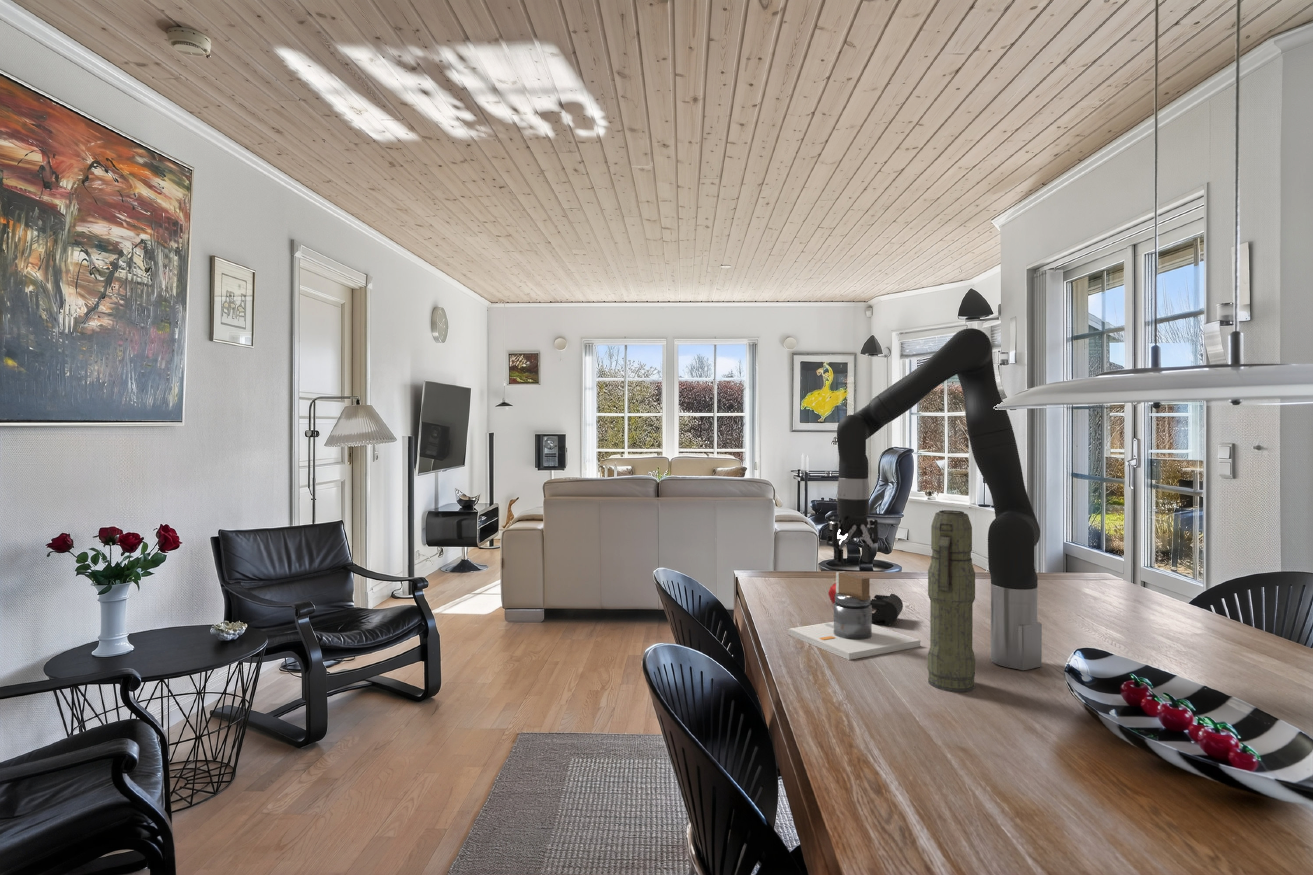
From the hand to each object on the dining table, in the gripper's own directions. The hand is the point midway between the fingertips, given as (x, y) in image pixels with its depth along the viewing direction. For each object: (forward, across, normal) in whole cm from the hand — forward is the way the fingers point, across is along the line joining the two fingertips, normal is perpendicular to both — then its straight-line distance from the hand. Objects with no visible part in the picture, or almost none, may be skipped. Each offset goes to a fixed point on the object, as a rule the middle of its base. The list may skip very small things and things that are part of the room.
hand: (852, 562), depth 173 cm
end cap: (+19, +20, +9) cm, 29 cm away
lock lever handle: (+10, 0, 0) cm, 10 cm away
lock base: (+19, 0, 0) cm, 19 cm away
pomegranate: (+20, +22, +27) cm, 40 cm away
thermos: (+19, -3, -32) cm, 38 cm away
